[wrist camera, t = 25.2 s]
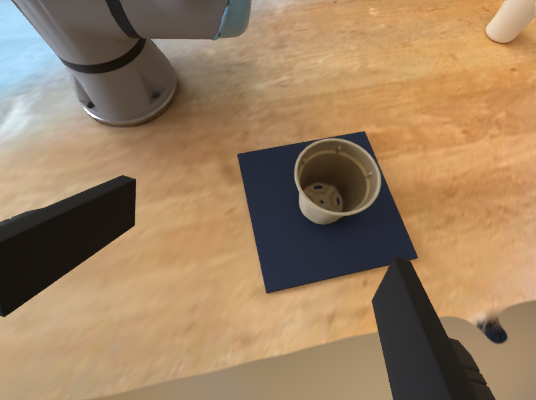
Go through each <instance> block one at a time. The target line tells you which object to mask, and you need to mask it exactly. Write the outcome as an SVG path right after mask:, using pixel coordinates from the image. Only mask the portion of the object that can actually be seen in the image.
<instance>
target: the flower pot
mask: <svg viewBox="0 0 536 400" xmlns="http://www.w3.org/2000/svg"><path fill="white" fill-rule="evenodd" d="M294 175H295V182H296V185H297V188H298V190H299V206H300V209H301V211H302V213H303V214H304V216H305V217H307V218H308V219H309V220H311V221H312V222H314V223H317V224H330V223H333V222H335V221H336V220H338V219H339V218H341V217H343V216H348V215H353V214H357V213H359V212H361V211H363V210H365V209H366V208H368V207H369V206H370V205H371V204H372V203H373V202H374V201H375V199H376V198H377V196H378V194H379V191H380V187H381V175H380V171H379V168H378V166H377V164H376V162H375V161H374V159H373V158H372V156H371V155H370V154H369V153H368V152H367V151H366V150H364V149H363V148H362V147H360V146H359V145H357V144H355V143H353V142H350V141H347V140H343V139H336V138H329V139H323V140H319V141H316V142H314V143H312V144H311V145H309V146H307V147H306V148H305V149H304V150H303V151H302V152H301V154H300V155H299V157H298V159H297V161H296V164H295V171H294ZM315 186H322V189H314V187H315ZM336 198H338V199H339V202H340V204H339V205H338V203H337V202H336V201H337V199H336ZM321 200H322V201H323V203H321V202H320V201H321Z"/></svg>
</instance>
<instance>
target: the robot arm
mask: <svg viewBox="0 0 536 400" xmlns="http://www.w3.org/2000/svg"><path fill="white" fill-rule="evenodd" d="M11 1H12V2H13V3H14V4H15V5H16V7H17V8H18V9H19V10H20V11H21V13H22V14H23V15H24V16H25V17H26V19H27V20H28V21H29V22H30V23H31V25H32V26H33V27H34V28H35V29H36V31H37V32H38V33H39V34H40V36H41V37H42V38H43V39H44V40H45V42H46V43H47V44H48V45H49V46H50V48H51V49H52V50H53V51H54V52H55V54H56V55H57V56H58V57H59V58H60V60H61V61H62V62H63V63H64V65H65V67H66V69H67V72H68V75H69V77H70V80H71V83H72V85H73V88H74V91H75V94H76V96H77V98H78V100H79V102H80V103H81V105H82V107H83V108H84V109H85V110H86V111H87V112H88V114H89V115H90V116H91V117H93V118H94V119H95V120H97V121H99V122H101V123H103V124H106V125H110V126H116V127H128V126H135V125H139V124H143V123H145V122H148V121H150V120H152V119H154V118H156V117H157V116H159V115H160V114H161V113H163V112H164V111H165V110H166V109H167V108H168V107H169V106H170V104H171V103H172V101H173V100H174V98H175V95H176V92H177V86H178V84H177V78H176V75H175V72H174V69H173V67H172V66H171V64H170V62H169V60H168V59H167V58H166V57H165V55H164V54H163V53H162V52H161V51H160V49H159V48H158V47H157V46H156V45H155V43H154V42H153V41H152V40H151V39H212V40H217V39H218V38H229V37H237V36H240V35H241V34H243V33H244V32H245V30H246V29H247V26H248V23H249V18H250V10H251V0H11ZM135 200H136V179H133V178H130V177H127V176H123V175H122V176H119V177H117V178H114V179H112V180H110V181H107V182H105V183H102V184H100V185H98V186H95V187H93V188H90V189H88V190H86V191H83V192H81V193H78V194H76V195H73V196H71V197H69V198H66V199H64V200H61V201H59V202H57V203H54V204H52V205H49V206H47V207H45V208H41V209H36V210H32V211H27V212H24V213H22V214H19V215H17V216H14V217H12V218H11V219H7V220H4V221H2V222H0V316H2V317H6V316H7V315H8V314H10V313H11V312H13V311H14V310H15V309H17V308H18V307H20V306H21V305H23V304H24V303H25V302H27V301H28V300H30V299H31V298H33V297H34V296H35V295H37V294H38V293H40V292H41V291H42V290H44V289H45V288H47V287H48V286H50V285H51V284H52V283H54V282H55V281H57V280H58V279H59V278H61V277H62V276H64V275H65V274H67V273H68V272H69V271H71V270H72V269H74V268H75V267H77V266H78V265H79V264H81V263H82V262H84V261H85V260H86V259H88V258H89V257H91V256H92V255H94V254H95V253H96V252H98V251H99V250H101V249H102V248H104V247H105V246H106V245H108V244H109V243H111V242H112V241H113V240H115V239H116V238H118V237H119V236H121V235H122V234H123V233H125V232H126V231H128V230H129V229H130V228H132V227H133V226H135ZM372 304H373V309H374V313H375V318H376V323H377V327H378V332H379V336H380V341H381V345H382V350H383V355H384V359H385V364H386V368H387V373H388V377H389V382H390V387H391V391H392V396H393V400H495V398H494V396H493V394H492V392H491V390H490V389H489V387H487V386H486V384H487V383H486V381H485V379H484V378H483V376H482V374H480V373H479V371H480V370H479V368H478V367H477V365H476V363H475V361H474V360H473V358H472V356H471V355H470V353H469V352H468V351H467V350H466V349H465V348H464V347H463V345H461V343H460V342H459V341H458V340H455V339H451V338H448V336H447V334H446V332H445V330H444V328H443V326H442V324H441V322H440V320H439V318H438V316H437V314H436V312H435V310H434V308H433V306H432V304H431V302H430V300H429V298H428V296H427V294H426V292H425V290H424V288H423V286H422V284H421V282H420V280H419V278H418V276H417V274H416V272H415V269H414V267H413V265H412V263H411V262H410V261H406V260H403V259H400V258H396V257H394V258H393V260H392V262H391V264H390V266H389V268H388V270H387V272H386V274H385V276H384V278H383V280H382V281H381V283H380V285H379V287H378V289H377V291H376V293H375V295H374V297H373V299H372Z"/></svg>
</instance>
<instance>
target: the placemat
mask: <svg viewBox="0 0 536 400" xmlns="http://www.w3.org/2000/svg"><path fill="white" fill-rule="evenodd" d="M330 138H336V139H343V140H347V141H350V142H353V143H355V144H357V145H359V146H360V147H362V148H363V149H364V150H366V151H367V152H368V153H369V154H370V155H371V156H372V158H373V159H374V161H375V162H376V164H377V166H378V168H379V171H380V175H381V187H380V191H379V194H378V196H377V198H376V199H375V201H374V202H373V203H372V204H371V205H370V206H369V207H368V208H366V209H365V210H363V211H361V212H359V213H357V214H353V215H348V216H343V217H341V218H339V219H338V220H336V221H335V222H333V223H330V224H317V223H314V222H312V221H311V220H309V219H308V218H307V217H305V216H304V214H303V213H302V211H301V209H300V206H299V190H298V188H297V185H296V182H295V175H294V171H295V164H296V161H297V159H298V157H299V155H300V154H301V152H302V151H303V150H304V149H305V148H306V147H307V146H309V145H311V144H312V143H314V142H316V141H319V140H323V139H319V140H313V141H307V142H302V143H296V144H291V145H285V146H280V147H274V148H268V149H263V150H257V151H252V152H246V153H240V154H238V159H239V164H240V169H241V173H242V178H243V183H244V188H245V193H246V197H247V202H248V207H249V212H250V217H251V222H252V226H253V231H254V236H255V241H256V246H257V250H258V255H259V260H260V265H261V270H262V275H263V279H264V284H265V289H266V293H270V292H274V291H279V290H283V289H287V288H292V287H296V286H300V285H304V284H309V283H313V282H317V281H322V280H326V279H330V278H335V277H339V276H343V275H347V274H352V273H356V272H360V271H365V270H369V269H373V268H377V267H382V266H386V265H390V264H391V262H392V260H393V258H394V257H396V258H400V259H403V260H406V261H408V260H412V259H416V258H418V257H417V254H416V252H415V249H414V247H413V245H412V242H411V240H410V238H409V235H408V233H407V230H406V228H405V226H404V223H403V221H402V219H401V216H400V214H399V212H398V209H397V207H396V204H395V202H394V200H393V197H392V195H391V193H390V190H389V188H388V186H387V183H386V181H385V178H384V176H383V174H382V171H381V169H380V167H379V164H378V162H377V159H376V157H375V155H374V152H373V150H372V148H371V145H370V143H369V141H368V138H367V136H366V133H365V131H363V132H358V133H352V134H346V135H341V136H335V137H330ZM324 139H329V138H324ZM314 189H322V186H315V187H314ZM336 199H337V201H336V202H337V203H338V205H339V204H340V202H339V199H338V198H336ZM320 202H321V203H323V201H322V200H321V201H320Z"/></svg>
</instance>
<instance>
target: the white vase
mask: <svg viewBox="0 0 536 400" xmlns="http://www.w3.org/2000/svg"><path fill="white" fill-rule="evenodd" d="M534 18H536V0H505V2H504V3H503V4H502V6H501V7H500V9H499V10H498V12H497V13H496V15H495V16H494V17H493V19H492V20H491V21H490V22H489V24H488V25H487V27H486V34H487V36H488V37H489V38H490V39H492V40H493V41H496V42H499V43H507V42H510V41H512V40H513V39H514V38H515V37H516V36H517V35H518V34H519V33H520V32H521V31H522V30H523V29H524V28H525V27H526V26H527V25H528V24H529V23H530V22H531V21H532V20H533V19H534Z"/></svg>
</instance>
